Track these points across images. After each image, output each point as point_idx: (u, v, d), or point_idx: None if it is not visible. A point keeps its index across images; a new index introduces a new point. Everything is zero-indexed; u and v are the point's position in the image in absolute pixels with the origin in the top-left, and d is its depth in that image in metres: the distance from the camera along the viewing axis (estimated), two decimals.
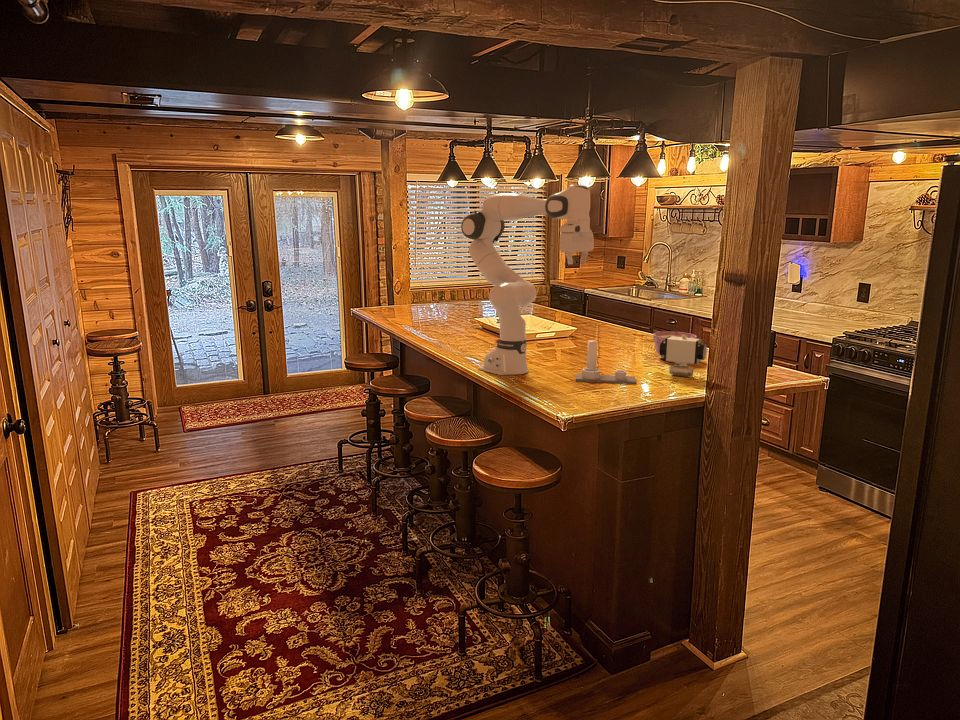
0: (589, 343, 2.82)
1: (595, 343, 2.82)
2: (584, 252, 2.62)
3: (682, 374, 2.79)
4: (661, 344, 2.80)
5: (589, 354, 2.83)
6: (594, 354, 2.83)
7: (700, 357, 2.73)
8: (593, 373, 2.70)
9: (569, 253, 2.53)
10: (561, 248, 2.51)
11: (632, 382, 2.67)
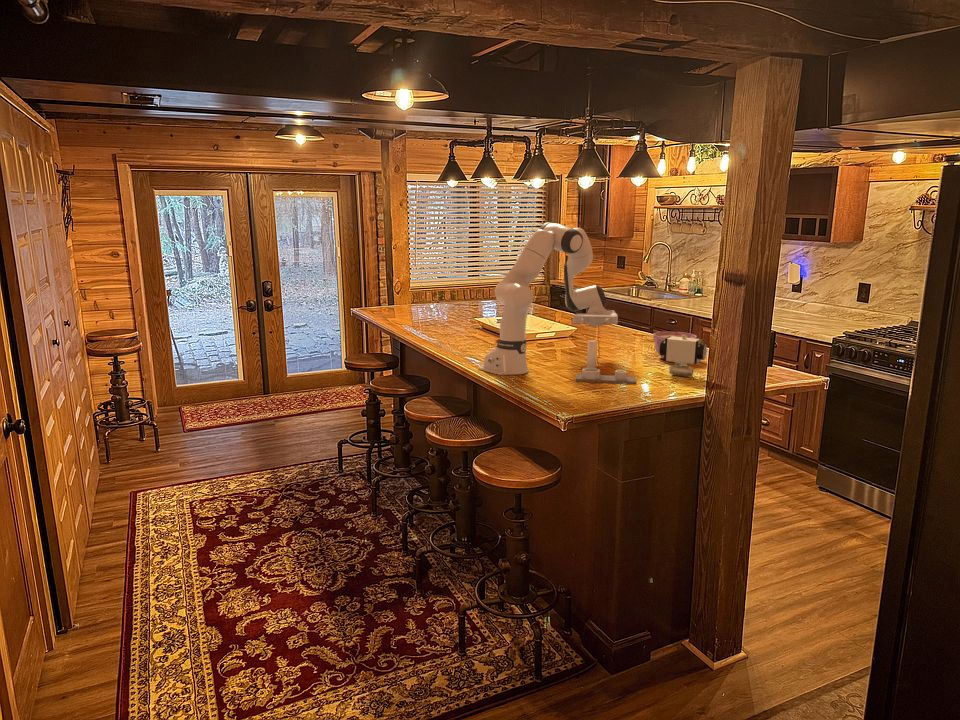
0: (589, 343, 2.82)
1: (595, 343, 2.82)
2: None
3: (682, 374, 2.79)
4: (661, 344, 2.80)
5: (589, 354, 2.83)
6: (594, 354, 2.83)
7: (700, 357, 2.73)
8: (593, 373, 2.70)
9: (609, 321, 2.96)
10: (617, 317, 2.96)
11: (632, 382, 2.67)
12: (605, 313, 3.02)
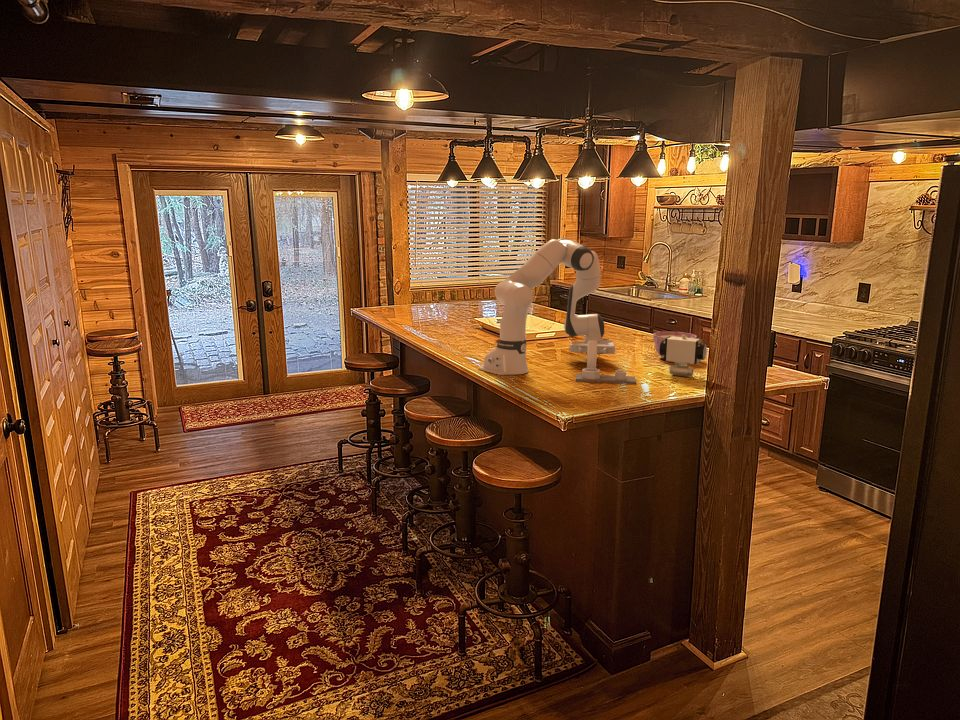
0: (589, 343, 2.82)
1: (595, 343, 2.82)
2: None
3: (682, 374, 2.79)
4: (661, 344, 2.80)
5: (589, 354, 2.83)
6: (594, 354, 2.83)
7: (700, 357, 2.73)
8: (593, 373, 2.70)
9: (606, 351, 2.95)
10: None
11: (632, 382, 2.67)
12: (602, 342, 3.01)
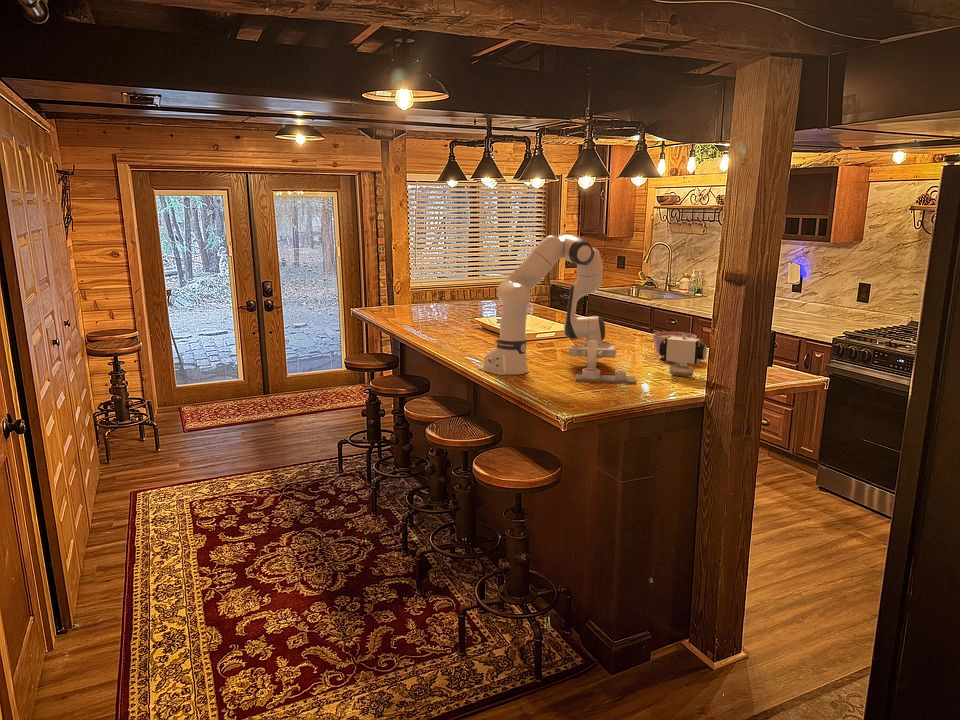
0: (589, 343, 2.82)
1: (595, 343, 2.82)
2: None
3: (682, 374, 2.79)
4: (661, 344, 2.80)
5: (589, 354, 2.83)
6: (594, 354, 2.83)
7: (700, 357, 2.73)
8: (593, 373, 2.70)
9: (602, 354, 2.87)
10: (615, 351, 2.87)
11: (632, 382, 2.67)
12: (602, 346, 2.93)
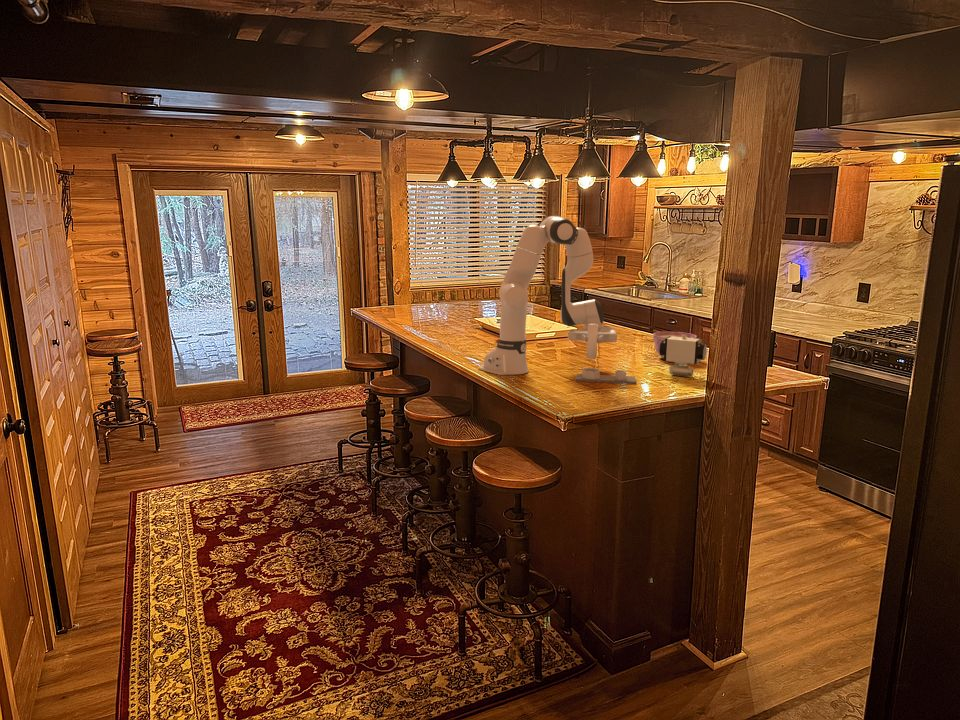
0: (589, 326, 2.71)
1: (596, 326, 2.70)
2: None
3: (682, 374, 2.79)
4: (661, 344, 2.80)
5: (589, 338, 2.71)
6: (594, 338, 2.71)
7: (700, 357, 2.73)
8: (593, 373, 2.70)
9: (603, 338, 2.75)
10: (616, 335, 2.76)
11: (632, 382, 2.67)
12: (603, 330, 2.81)
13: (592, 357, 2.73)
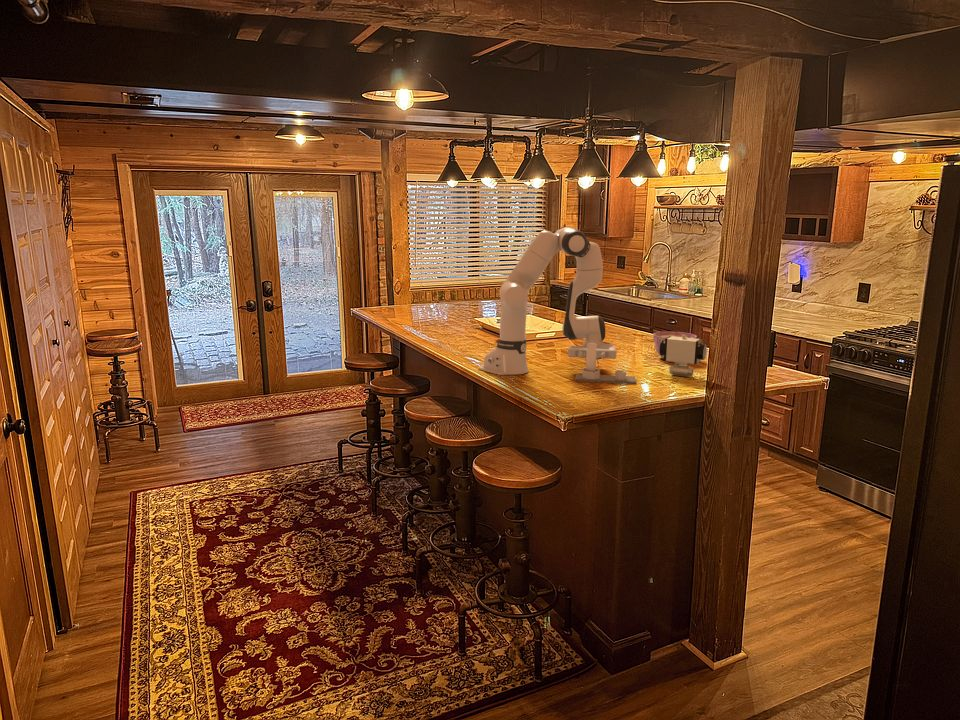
0: (588, 346, 2.70)
1: (594, 346, 2.70)
2: None
3: (682, 374, 2.79)
4: (661, 344, 2.80)
5: (588, 357, 2.71)
6: (593, 357, 2.71)
7: (700, 357, 2.73)
8: (593, 373, 2.70)
9: (605, 355, 2.75)
10: None
11: (632, 382, 2.67)
12: (602, 346, 2.81)
13: None
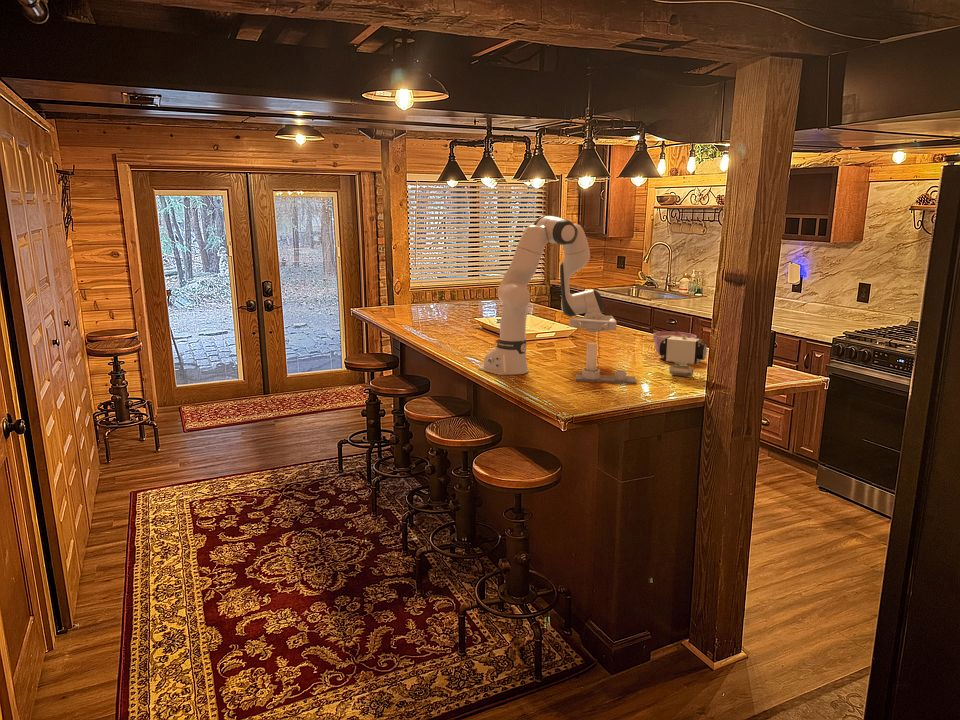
0: (588, 346, 2.70)
1: (594, 346, 2.70)
2: None
3: (682, 374, 2.79)
4: (661, 344, 2.80)
5: (588, 357, 2.71)
6: (594, 357, 2.71)
7: (700, 357, 2.73)
8: (593, 373, 2.70)
9: (608, 327, 2.85)
10: (616, 323, 2.86)
11: (632, 382, 2.67)
12: (603, 318, 2.91)
13: None
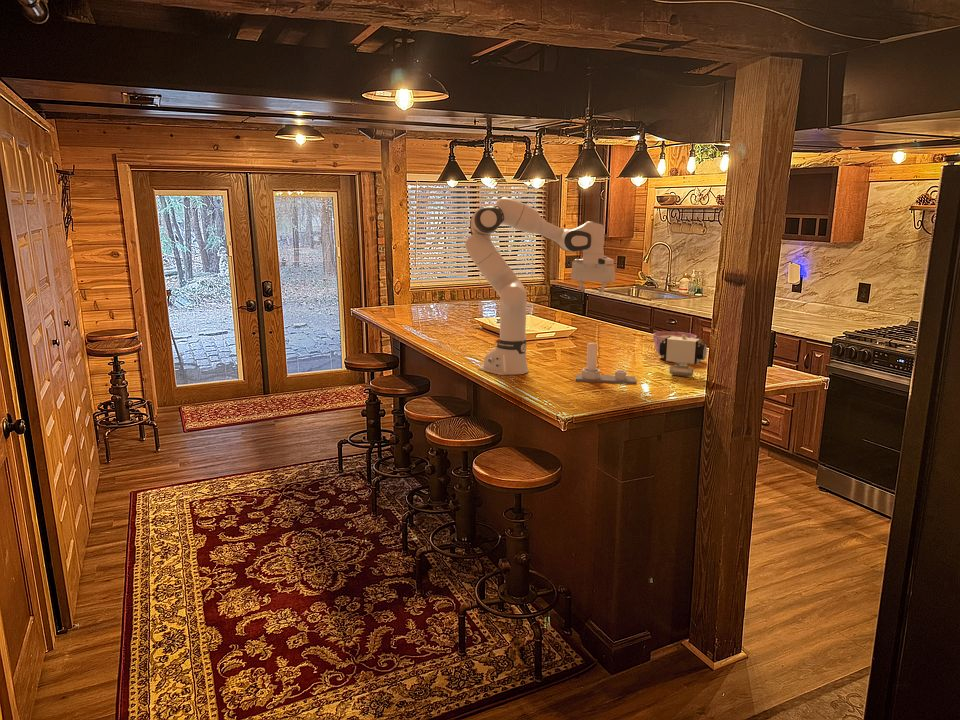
0: (589, 346, 2.70)
1: (595, 346, 2.70)
2: (582, 281, 2.91)
3: (682, 374, 2.79)
4: (661, 344, 2.80)
5: (589, 357, 2.71)
6: (594, 357, 2.71)
7: (700, 357, 2.73)
8: (593, 373, 2.70)
9: (606, 282, 2.84)
10: (612, 279, 2.81)
11: (632, 382, 2.67)
12: (599, 268, 2.82)
13: None
